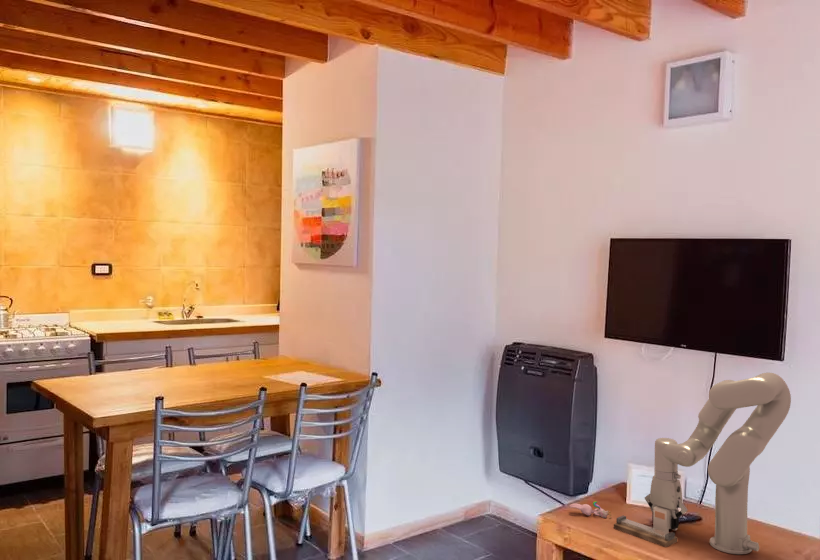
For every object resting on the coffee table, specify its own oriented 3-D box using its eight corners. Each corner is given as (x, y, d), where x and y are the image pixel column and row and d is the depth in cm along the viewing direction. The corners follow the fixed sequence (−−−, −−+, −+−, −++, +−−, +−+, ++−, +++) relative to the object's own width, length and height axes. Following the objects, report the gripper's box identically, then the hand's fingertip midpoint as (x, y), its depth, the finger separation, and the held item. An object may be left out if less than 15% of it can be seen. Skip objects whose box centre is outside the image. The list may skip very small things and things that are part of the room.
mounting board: (677, 541, 226) (677, 537, 226) (665, 547, 222) (666, 542, 222) (625, 523, 242) (625, 519, 242) (613, 528, 237) (613, 524, 237)
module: (677, 529, 236) (677, 506, 236) (666, 534, 232) (666, 511, 232) (664, 525, 240) (664, 502, 240) (652, 530, 236) (653, 507, 236)
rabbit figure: (609, 517, 251) (568, 507, 254) (612, 502, 250) (571, 492, 254) (610, 524, 245) (568, 513, 248) (613, 508, 244) (571, 498, 248)
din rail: (674, 538, 225) (674, 532, 225) (668, 541, 223) (668, 536, 223) (623, 520, 241) (623, 515, 241) (616, 523, 238) (616, 518, 238)
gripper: (695, 478, 231) (694, 530, 232) (649, 466, 245) (649, 515, 245) (683, 483, 226) (682, 536, 227) (637, 470, 240) (637, 520, 241)
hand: (665, 525), depth 236 cm, fingers open, 6 cm apart
